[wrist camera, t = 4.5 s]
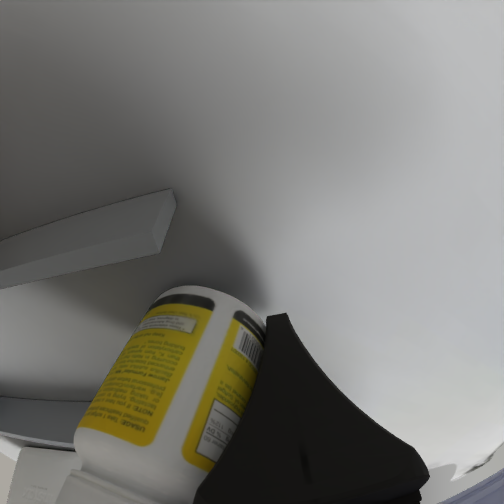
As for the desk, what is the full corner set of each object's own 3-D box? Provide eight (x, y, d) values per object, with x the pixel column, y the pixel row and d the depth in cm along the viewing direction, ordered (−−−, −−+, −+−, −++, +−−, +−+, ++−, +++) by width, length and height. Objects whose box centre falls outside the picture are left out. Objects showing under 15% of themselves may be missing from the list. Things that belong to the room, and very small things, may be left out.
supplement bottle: (143, 334, 13) (50, 500, 6) (170, 257, 10) (19, 490, 3) (242, 383, 13) (184, 560, 6) (297, 323, 11) (239, 581, 4)
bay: (243, 397, 15) (247, 447, 13) (-4, 400, 16) (-16, 430, 13) (171, 188, 10) (151, 231, 7) (-91, 280, 10) (-116, 308, 8)
